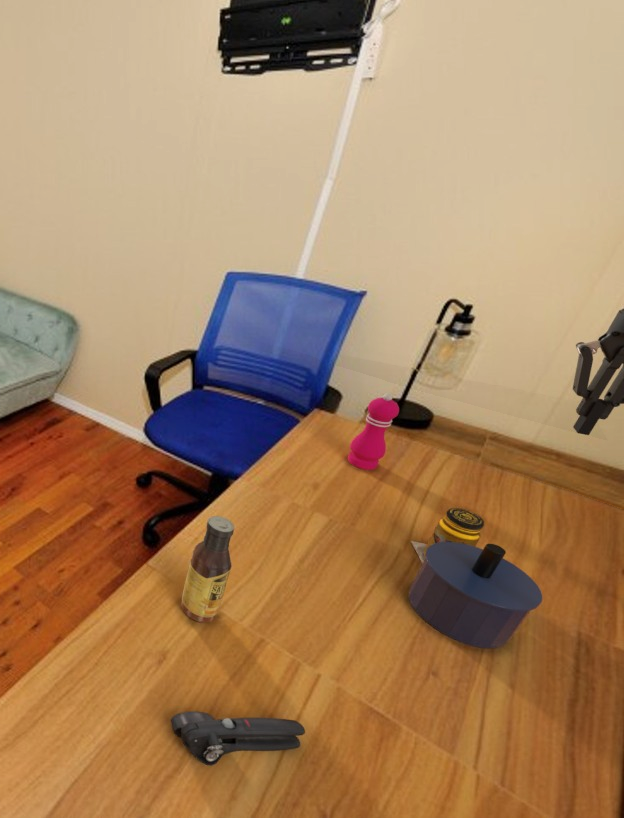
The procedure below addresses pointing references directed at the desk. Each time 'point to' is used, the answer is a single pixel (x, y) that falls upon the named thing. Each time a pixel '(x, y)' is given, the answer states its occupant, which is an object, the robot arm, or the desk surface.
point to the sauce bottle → (208, 572)
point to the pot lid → (483, 575)
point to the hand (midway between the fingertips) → (580, 430)
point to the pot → (461, 613)
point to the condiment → (454, 530)
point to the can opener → (233, 734)
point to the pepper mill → (373, 433)
